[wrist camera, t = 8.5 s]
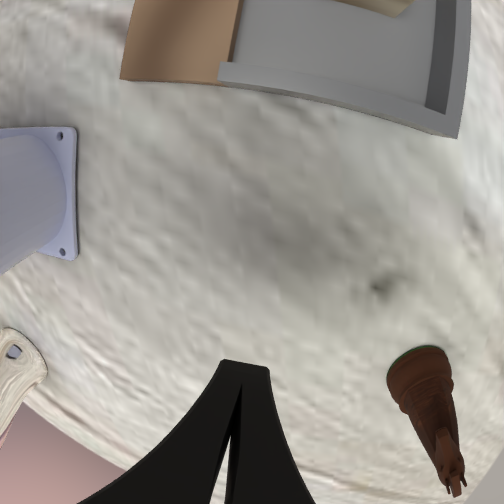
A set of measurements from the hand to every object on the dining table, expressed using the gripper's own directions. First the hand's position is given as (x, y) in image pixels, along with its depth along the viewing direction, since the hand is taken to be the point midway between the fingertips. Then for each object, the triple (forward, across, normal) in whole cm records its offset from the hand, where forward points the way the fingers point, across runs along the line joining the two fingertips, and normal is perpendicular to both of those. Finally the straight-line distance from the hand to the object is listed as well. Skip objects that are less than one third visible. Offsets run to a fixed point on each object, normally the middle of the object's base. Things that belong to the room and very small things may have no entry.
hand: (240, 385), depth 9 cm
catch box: (+8, -2, -16) cm, 18 cm away
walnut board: (+8, +6, -16) cm, 19 cm away
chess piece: (+9, -12, +6) cm, 16 cm away
